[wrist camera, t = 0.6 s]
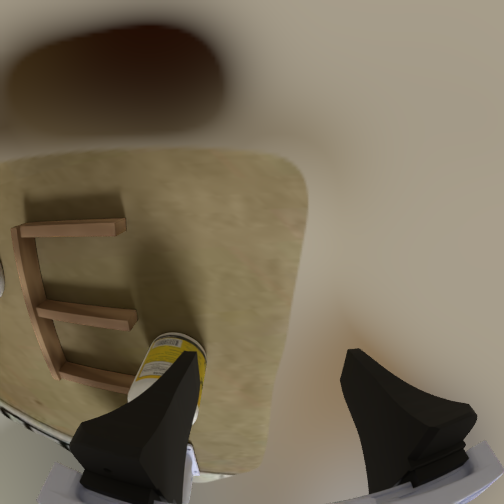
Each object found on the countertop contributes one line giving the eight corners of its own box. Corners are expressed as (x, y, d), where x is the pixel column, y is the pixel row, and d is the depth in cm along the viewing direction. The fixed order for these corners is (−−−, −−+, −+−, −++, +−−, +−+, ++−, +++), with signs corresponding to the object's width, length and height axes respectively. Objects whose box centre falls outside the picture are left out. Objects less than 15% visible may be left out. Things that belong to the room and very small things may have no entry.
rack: (152, 384, 25) (145, 401, 22) (63, 366, 24) (53, 378, 22) (125, 218, 20) (111, 223, 18) (26, 222, 20) (10, 228, 17)
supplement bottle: (187, 384, 25) (168, 463, 15) (141, 353, 24) (104, 428, 14) (220, 353, 23) (208, 441, 14) (170, 319, 22) (132, 399, 13)
